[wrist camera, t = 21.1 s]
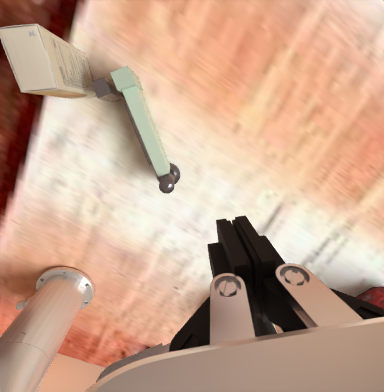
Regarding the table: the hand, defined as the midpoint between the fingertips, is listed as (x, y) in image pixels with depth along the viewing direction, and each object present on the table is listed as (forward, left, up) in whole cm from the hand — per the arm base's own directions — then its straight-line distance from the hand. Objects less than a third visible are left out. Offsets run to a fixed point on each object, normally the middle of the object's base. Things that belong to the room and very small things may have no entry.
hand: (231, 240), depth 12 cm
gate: (-6, +7, -29) cm, 30 cm away
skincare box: (-14, +18, -29) cm, 37 cm away
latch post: (-9, +8, -29) cm, 32 cm away
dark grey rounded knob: (-6, -2, -29) cm, 30 cm away
